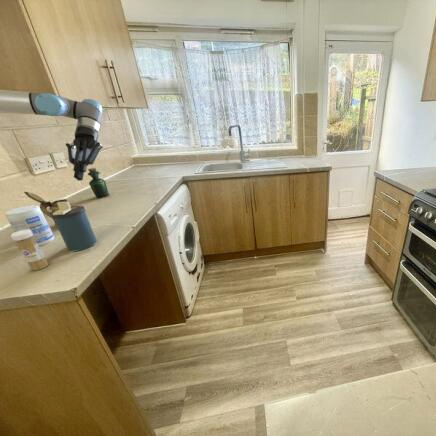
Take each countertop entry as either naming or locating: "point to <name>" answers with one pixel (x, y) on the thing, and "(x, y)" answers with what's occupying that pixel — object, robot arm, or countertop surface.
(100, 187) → the potion bottle
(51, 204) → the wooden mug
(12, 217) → the supplement tub
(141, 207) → the countertop surface
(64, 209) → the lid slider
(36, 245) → the sprinkles bottle
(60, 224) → the tumbler
